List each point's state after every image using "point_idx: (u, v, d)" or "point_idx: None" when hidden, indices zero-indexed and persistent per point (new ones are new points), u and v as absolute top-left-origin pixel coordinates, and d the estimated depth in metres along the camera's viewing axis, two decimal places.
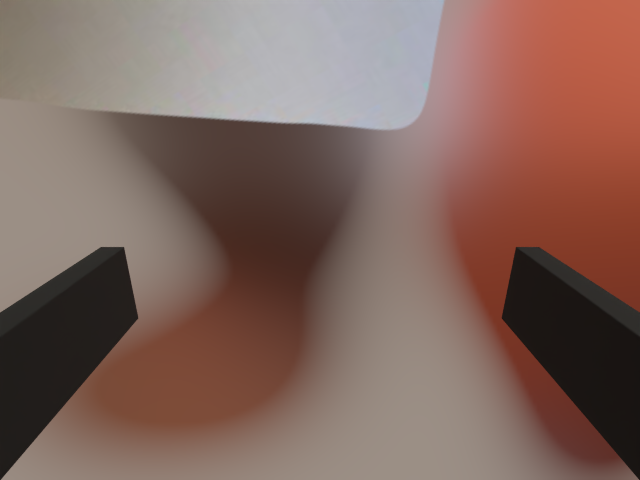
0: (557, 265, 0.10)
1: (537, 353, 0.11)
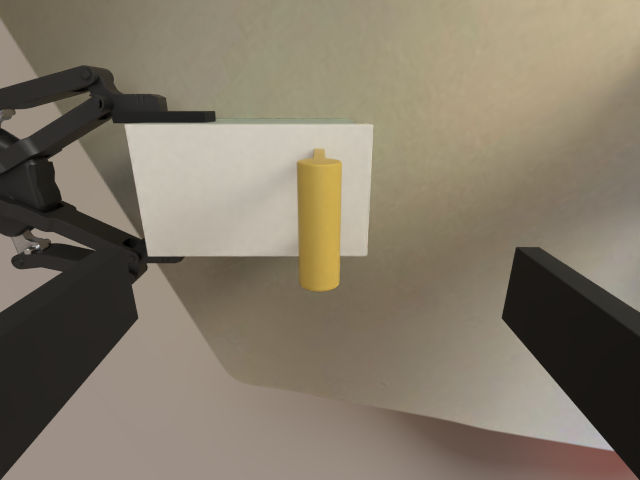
0: (557, 266, 0.10)
1: (537, 353, 0.11)
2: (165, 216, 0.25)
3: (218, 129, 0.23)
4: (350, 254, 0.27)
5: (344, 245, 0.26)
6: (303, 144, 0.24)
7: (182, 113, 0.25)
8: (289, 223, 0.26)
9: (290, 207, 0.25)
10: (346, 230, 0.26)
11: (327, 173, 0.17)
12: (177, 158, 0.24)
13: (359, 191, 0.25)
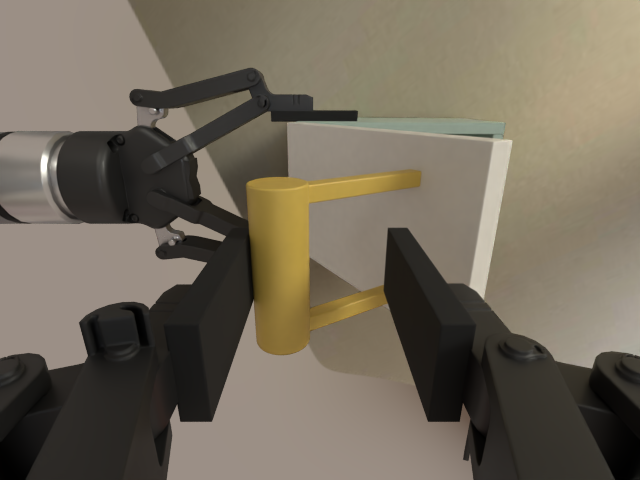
0: (408, 241, 0.12)
1: (394, 315, 0.13)
2: None
3: (334, 131, 0.21)
4: None
5: None
6: (400, 161, 0.17)
7: (337, 112, 0.27)
8: (378, 260, 0.20)
9: (380, 240, 0.19)
10: None
11: (256, 199, 0.12)
12: (309, 158, 0.24)
13: (459, 249, 0.15)
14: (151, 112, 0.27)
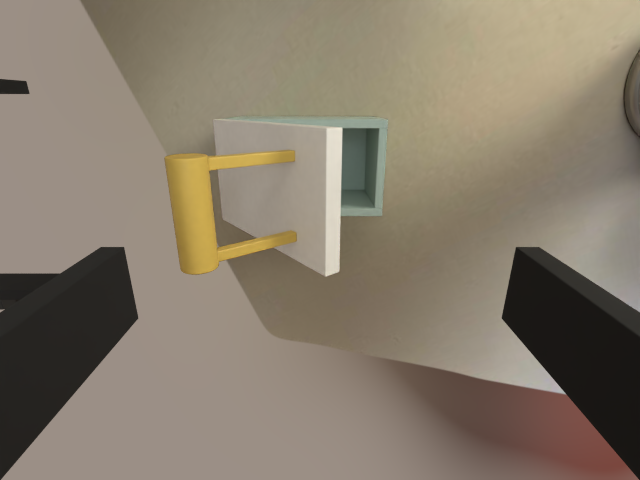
0: (557, 266, 0.10)
1: (537, 353, 0.11)
2: (227, 191, 0.33)
3: (244, 125, 0.28)
4: (314, 268, 0.24)
5: (309, 256, 0.24)
6: (283, 144, 0.24)
7: None
8: (277, 219, 0.27)
9: (278, 204, 0.26)
10: (311, 241, 0.24)
11: (170, 166, 0.19)
12: (229, 147, 0.30)
13: (318, 202, 0.22)
14: None
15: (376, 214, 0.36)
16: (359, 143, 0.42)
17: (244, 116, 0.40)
